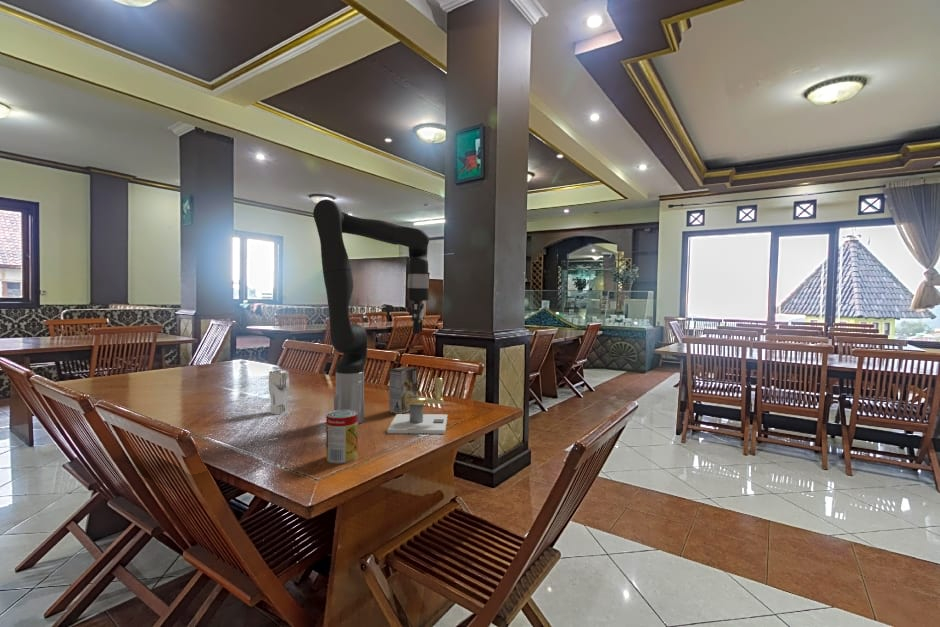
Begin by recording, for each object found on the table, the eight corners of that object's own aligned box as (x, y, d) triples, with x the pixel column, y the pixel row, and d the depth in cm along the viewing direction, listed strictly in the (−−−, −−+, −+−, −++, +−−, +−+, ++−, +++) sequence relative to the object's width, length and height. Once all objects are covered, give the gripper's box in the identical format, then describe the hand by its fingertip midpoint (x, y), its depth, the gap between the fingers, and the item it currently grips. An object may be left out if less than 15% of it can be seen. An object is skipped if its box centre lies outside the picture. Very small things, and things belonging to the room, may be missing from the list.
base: (387, 433, 136) (387, 410, 135) (396, 417, 154) (396, 397, 153) (444, 434, 136) (444, 411, 135) (447, 417, 154) (447, 397, 153)
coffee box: (405, 407, 168) (405, 365, 168) (417, 409, 165) (418, 367, 164) (388, 412, 160) (388, 369, 160) (401, 414, 157) (401, 370, 156)
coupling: (441, 406, 140) (441, 380, 140) (403, 404, 141) (403, 379, 141) (444, 401, 147) (445, 376, 146) (408, 399, 148) (409, 375, 148)
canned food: (360, 452, 119) (360, 409, 118) (353, 463, 111) (353, 417, 110) (331, 452, 118) (331, 409, 118) (322, 463, 111) (322, 417, 110)
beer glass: (284, 414, 155) (284, 373, 154) (265, 414, 155) (264, 373, 154) (292, 409, 162) (292, 370, 161) (274, 409, 162) (273, 369, 161)
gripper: (426, 286, 147) (426, 334, 147) (430, 287, 161) (430, 331, 162) (404, 286, 147) (404, 334, 147) (410, 287, 161) (410, 331, 162)
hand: (417, 332), depth 154 cm, fingers open, 8 cm apart
